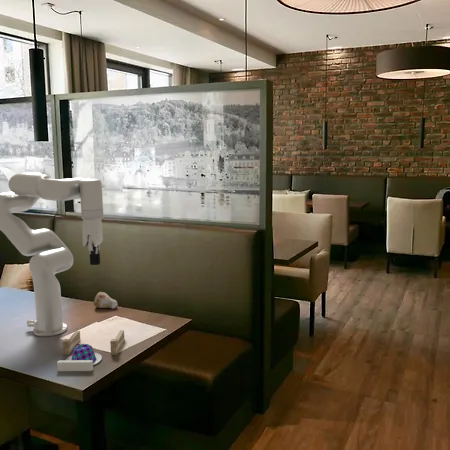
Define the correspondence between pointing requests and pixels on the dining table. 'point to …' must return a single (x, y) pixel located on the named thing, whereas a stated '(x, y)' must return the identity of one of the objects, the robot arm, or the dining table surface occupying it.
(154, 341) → the dining table surface
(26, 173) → the robot arm
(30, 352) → the dining table surface
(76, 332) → the pair of beige bars
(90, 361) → the bar
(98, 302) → the white patterned lump
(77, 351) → the pudding
